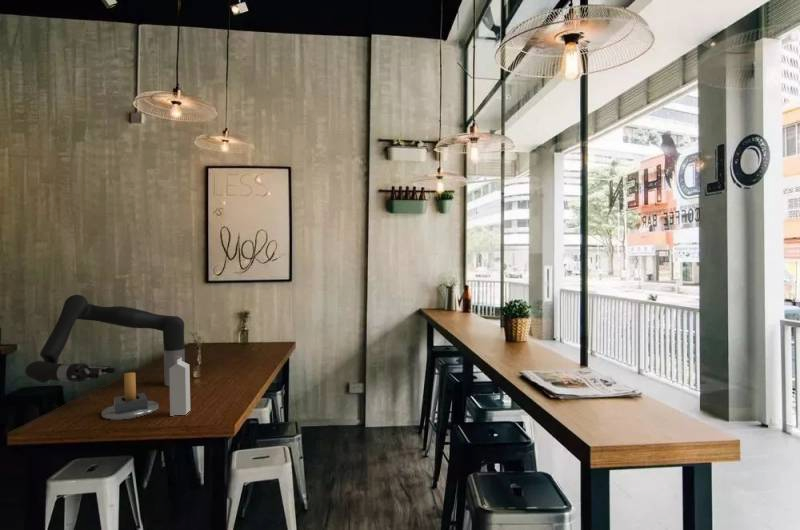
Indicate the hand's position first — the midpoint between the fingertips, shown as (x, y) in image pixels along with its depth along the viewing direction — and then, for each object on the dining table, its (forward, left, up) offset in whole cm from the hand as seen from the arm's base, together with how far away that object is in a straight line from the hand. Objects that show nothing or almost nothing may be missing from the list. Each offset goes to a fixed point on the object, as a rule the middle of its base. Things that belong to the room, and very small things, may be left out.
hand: (106, 373), depth 197 cm
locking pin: (-7, +11, -13) cm, 19 cm away
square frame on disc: (-8, +11, -15) cm, 20 cm away
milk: (-24, +26, -15) cm, 38 cm away
